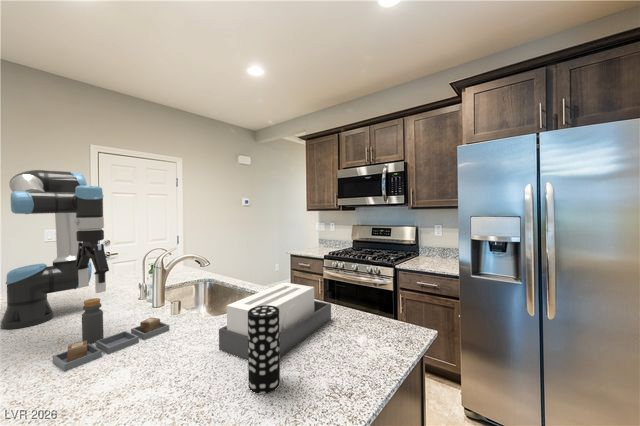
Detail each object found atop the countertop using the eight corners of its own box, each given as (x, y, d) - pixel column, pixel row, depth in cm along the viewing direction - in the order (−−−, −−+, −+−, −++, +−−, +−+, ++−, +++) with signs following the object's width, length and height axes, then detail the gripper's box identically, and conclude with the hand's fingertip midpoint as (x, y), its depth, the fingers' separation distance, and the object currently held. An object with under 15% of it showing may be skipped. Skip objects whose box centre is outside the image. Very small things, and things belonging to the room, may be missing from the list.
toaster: (264, 363, 86) (263, 314, 85) (227, 351, 93) (226, 305, 93) (319, 322, 116) (319, 285, 116) (288, 315, 124) (288, 280, 124)
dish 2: (95, 348, 95) (95, 341, 95) (125, 337, 103) (125, 330, 103) (108, 355, 91) (108, 348, 90) (139, 343, 98) (138, 336, 98)
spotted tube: (251, 375, 80) (250, 305, 79) (280, 374, 80) (280, 304, 80) (246, 395, 71) (245, 317, 71) (279, 393, 72) (278, 316, 71)
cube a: (140, 334, 105) (140, 321, 105) (150, 328, 109) (150, 317, 109) (150, 335, 103) (149, 323, 103) (160, 330, 108) (159, 318, 108)
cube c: (68, 359, 88) (68, 344, 88) (87, 354, 91) (86, 340, 90) (67, 365, 84) (67, 350, 84) (87, 360, 87) (86, 345, 87)
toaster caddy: (219, 349, 94) (218, 329, 94) (290, 311, 128) (290, 295, 128) (266, 368, 83) (266, 344, 83) (331, 320, 118) (330, 303, 117)
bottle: (91, 346, 96) (90, 303, 96) (78, 345, 98) (76, 302, 97) (107, 338, 102) (106, 298, 102) (94, 337, 103) (93, 297, 103)
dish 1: (52, 364, 86) (52, 356, 86) (89, 350, 94) (89, 343, 94) (64, 373, 81) (64, 364, 81) (102, 358, 89) (101, 350, 89)
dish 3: (131, 335, 105) (130, 328, 105) (156, 326, 113) (155, 320, 113) (144, 341, 100) (144, 334, 100) (169, 331, 108) (169, 325, 108)
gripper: (62, 229, 102) (64, 287, 102) (93, 231, 89) (95, 297, 90) (88, 228, 108) (89, 282, 109) (119, 229, 96) (121, 291, 96)
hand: (92, 289), depth 99 cm, fingers open, 13 cm apart
